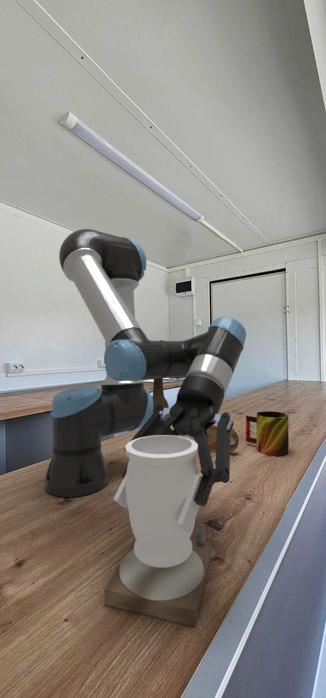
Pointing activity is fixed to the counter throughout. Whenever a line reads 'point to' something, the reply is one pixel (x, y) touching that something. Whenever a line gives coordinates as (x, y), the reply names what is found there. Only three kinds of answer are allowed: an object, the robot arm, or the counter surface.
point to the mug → (270, 433)
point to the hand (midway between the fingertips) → (149, 515)
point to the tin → (213, 435)
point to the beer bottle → (159, 394)
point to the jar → (160, 496)
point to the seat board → (162, 584)
